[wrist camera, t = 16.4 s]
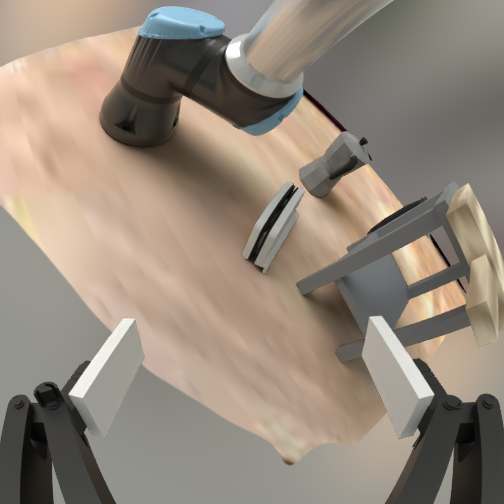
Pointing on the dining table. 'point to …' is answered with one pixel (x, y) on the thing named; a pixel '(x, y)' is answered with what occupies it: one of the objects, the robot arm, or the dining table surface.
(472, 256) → the cutting board
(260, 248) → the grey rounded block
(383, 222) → the portable speaker
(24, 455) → the robot arm
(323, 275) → the side table
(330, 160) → the coffeepot
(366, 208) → the dining table surface
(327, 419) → the dining table surface
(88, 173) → the dining table surface
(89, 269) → the dining table surface
